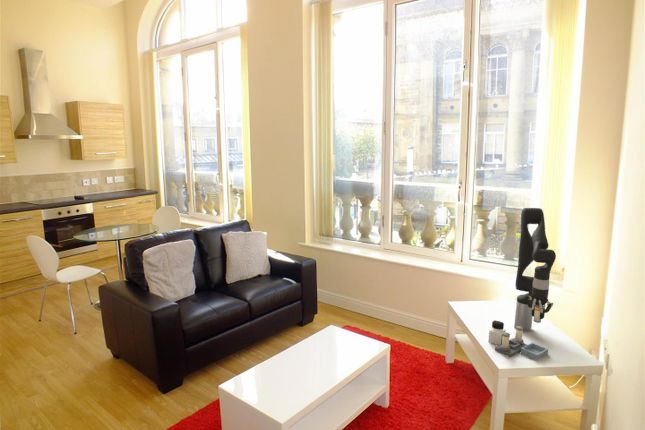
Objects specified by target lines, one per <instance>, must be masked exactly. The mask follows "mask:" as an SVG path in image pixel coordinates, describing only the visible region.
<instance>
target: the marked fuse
mask: <svg viewBox="0 0 645 430" xmlns="http://www.w3.org/2000/svg"><path fill="white" fill-rule="evenodd" d="M540 312H541V311H540V306H539V305H536V304H535V311H534V317H533V319H532V322H534V323H537V324H539V323H542V319H540Z"/></svg>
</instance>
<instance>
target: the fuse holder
mask: <svg viewBox="0 0 645 430" xmlns="http://www.w3.org/2000/svg"><path fill="white" fill-rule="evenodd" d="M510 335H511V334H510V333H509V332H506V331H505V332H503V337H502V344H500V345H498V344H497V345H496V346H495V347H494V351H495V352H497V353H499V354H502V355H504V356H506V357H509V358H512V357H514V356H516V355H517V354H519V353H521V348H522V347H524V346H526V345H528V343H525V342H524V339H523V327H521V326H516V329H515V334H514V335H515V337H514V338H510Z"/></svg>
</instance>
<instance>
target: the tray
mask: <svg viewBox="0 0 645 430" xmlns="http://www.w3.org/2000/svg"><path fill="white" fill-rule="evenodd" d="M519 355H523V356H524V357H527V358H528V359H531V360H534V361H536V362H538V361H539V360H542V359H543V358H545V357H547V356H548V355H549V348H546V347H544V346H541V345H539V344H538V343H535V342H530V343H527V345H526V346H524V347H522V348H521V352H520V354H519Z"/></svg>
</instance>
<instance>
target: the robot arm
mask: <svg viewBox="0 0 645 430" xmlns="http://www.w3.org/2000/svg"><path fill="white" fill-rule="evenodd" d="M545 221H546V220H545V215H544V210H543V209H542V208H540V207H539V208H538V207H524V208H522V210H521V213H520V238H519V246H518V262H517V263H518V264H517V270H516V276H515V278H516V279H515V289H516V290H517V291H521V292H525V293H524V294H523V293H522V294H520V295H517V297H516V305H515V314H514V315H515V316H514V325H513V328H514V329H515V330H516V326H521V327H523V332H524V333H528V332H531V330H532V326H533V325H532V323H533V318H534V311H535V304H536V305H539V306H540V311H541V312H540V319H541V320H544V318H545V314H547V313H549V312H550V310H551V308H552V307H553V306H554V303H553V302H550V301H549V298H548V297H549V291H550V274H551V271H552V268H553V265H554V263H555V262H556V257H557V254H556V252H555V251H554V250H553V249H549V242H548V238H547V235H546V223H545ZM528 225H537V227H536V228H535V230H534V231H533V232H532V235H531V233H530V231H529V228H528ZM532 262H535V263H538V264H539V263H542V264H543V265H538V266H536V267H535V268H534V273H533V274H534V275H533V276H529V275H523V274H524V272H525V271H526V269H527V268H528V267H529V266H530V265H531V264H532Z"/></svg>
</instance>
